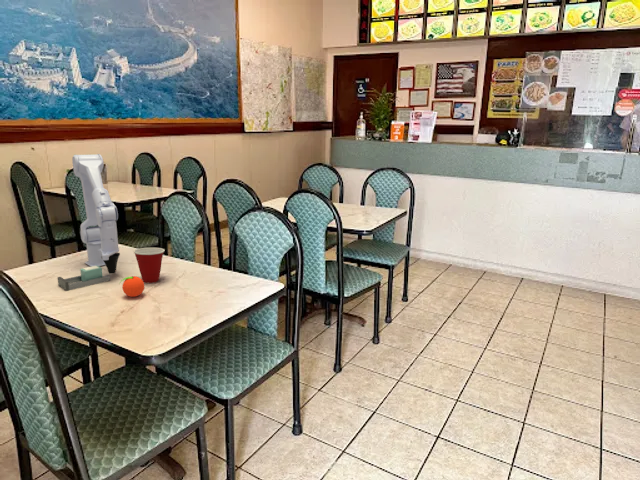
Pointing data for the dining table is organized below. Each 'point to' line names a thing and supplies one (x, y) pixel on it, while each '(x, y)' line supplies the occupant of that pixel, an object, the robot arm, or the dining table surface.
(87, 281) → the rail
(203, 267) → the dining table surface
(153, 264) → the plastic cup
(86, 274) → the module
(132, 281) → the clementine
